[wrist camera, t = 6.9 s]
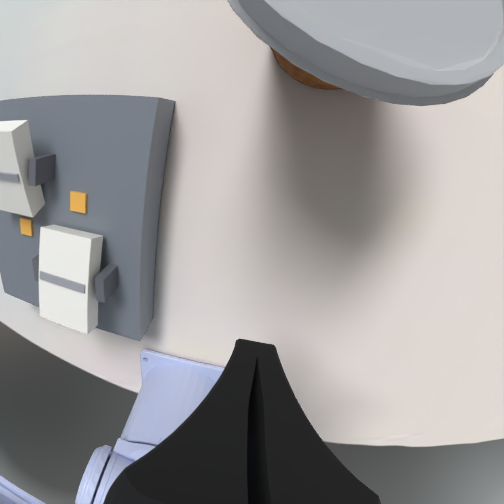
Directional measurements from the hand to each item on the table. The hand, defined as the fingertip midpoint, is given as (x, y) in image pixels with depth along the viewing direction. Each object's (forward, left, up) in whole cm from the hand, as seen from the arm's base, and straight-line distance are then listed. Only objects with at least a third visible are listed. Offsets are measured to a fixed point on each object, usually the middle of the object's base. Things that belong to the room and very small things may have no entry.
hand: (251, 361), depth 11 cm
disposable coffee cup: (+14, -1, -11) cm, 18 cm away
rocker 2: (-3, +12, -6) cm, 13 cm away
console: (0, +14, -10) cm, 17 cm away
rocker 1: (+4, +17, -6) cm, 18 cm away
